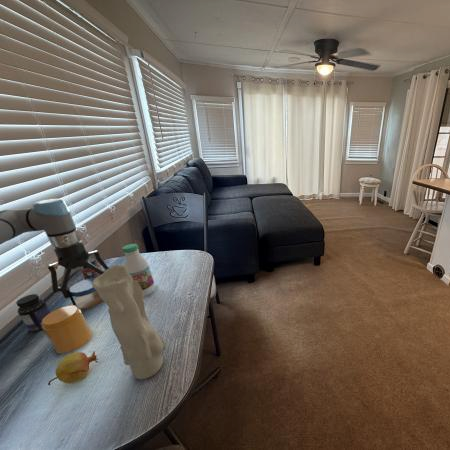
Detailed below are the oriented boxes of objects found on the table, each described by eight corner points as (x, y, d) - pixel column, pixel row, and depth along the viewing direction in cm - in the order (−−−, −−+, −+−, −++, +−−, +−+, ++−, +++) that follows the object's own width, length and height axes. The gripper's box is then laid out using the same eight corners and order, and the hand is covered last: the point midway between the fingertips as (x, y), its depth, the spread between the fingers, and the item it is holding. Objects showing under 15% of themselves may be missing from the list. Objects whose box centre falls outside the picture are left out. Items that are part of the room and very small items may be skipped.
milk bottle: (130, 291, 95) (114, 246, 87) (152, 282, 100) (138, 239, 92) (136, 300, 90) (119, 253, 82) (158, 290, 95) (144, 245, 87)
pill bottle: (55, 315, 83) (41, 289, 79) (55, 325, 79) (40, 298, 75) (29, 325, 79) (13, 298, 75) (28, 335, 75) (11, 308, 71)
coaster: (62, 310, 86) (61, 308, 86) (89, 289, 97) (89, 287, 97) (95, 309, 86) (94, 308, 85) (118, 288, 97) (118, 287, 96)
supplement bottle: (99, 288, 97) (88, 265, 93) (84, 289, 97) (74, 265, 93) (110, 280, 102) (101, 257, 98) (96, 280, 103) (86, 257, 98)
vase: (143, 354, 68) (107, 263, 56) (174, 352, 68) (144, 260, 57) (124, 384, 60) (79, 285, 48) (159, 381, 60) (122, 282, 49)
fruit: (40, 386, 54) (96, 358, 60) (39, 361, 58) (91, 337, 64) (53, 399, 58) (104, 371, 64) (51, 375, 62) (99, 351, 68)
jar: (47, 353, 69) (30, 326, 65) (73, 330, 77) (59, 304, 73) (75, 353, 69) (60, 325, 65) (98, 330, 76) (86, 304, 72)
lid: (64, 297, 85) (62, 292, 85) (85, 281, 94) (84, 277, 93) (89, 296, 85) (87, 292, 84) (108, 281, 94) (107, 277, 93)
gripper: (22, 259, 72) (53, 317, 81) (108, 235, 88) (127, 286, 96) (20, 252, 77) (50, 307, 86) (103, 230, 92) (121, 279, 101)
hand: (90, 296), depth 91 cm, fingers closed on lid, 9 cm apart
